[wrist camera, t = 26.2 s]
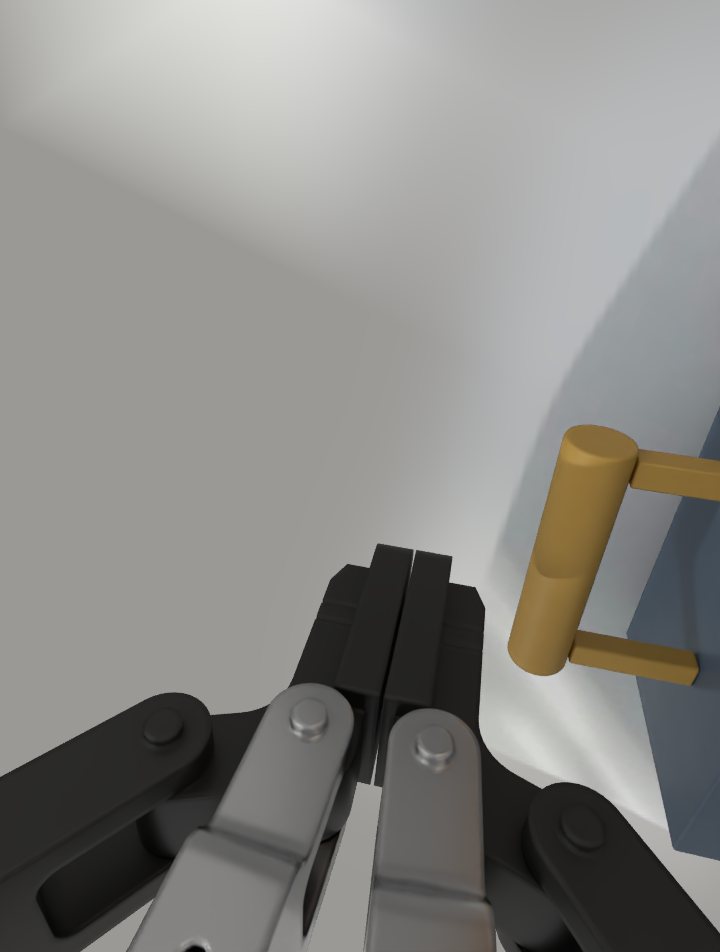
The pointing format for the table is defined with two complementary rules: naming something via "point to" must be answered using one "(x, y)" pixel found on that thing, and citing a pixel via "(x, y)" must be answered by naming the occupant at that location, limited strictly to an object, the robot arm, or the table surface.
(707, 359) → the table surface
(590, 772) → the table surface
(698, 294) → the table surface
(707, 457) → the drawer
